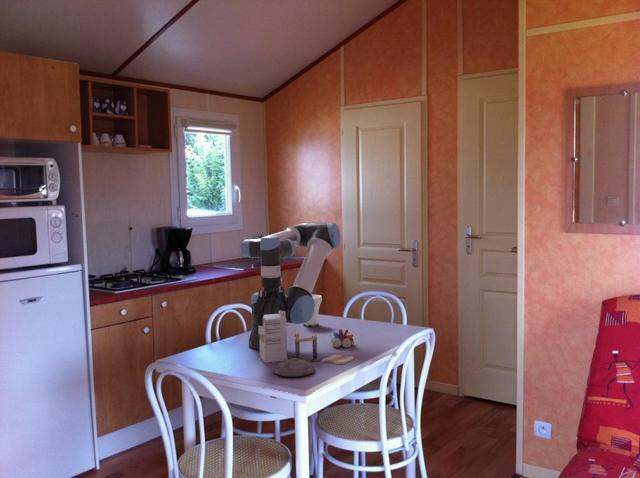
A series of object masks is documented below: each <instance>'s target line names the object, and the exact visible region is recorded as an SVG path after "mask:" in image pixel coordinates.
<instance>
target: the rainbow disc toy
mask: <svg viewBox="0 0 640 478" xmlns="http://www.w3.org/2000/svg"><path fill="white" fill-rule="evenodd" d="M348 333H349V329H345V331H344V333H343V330H342V329H341V328H340V329H338V332H336V331H334V332H333V333H332V334H333V336H334V337H332V338H331V341H330V342H331V345H332V346H333V347H334V348H340V347H343V348H345V349H348V348H350V347H351V346H352V345H354V344H355V341H354V338H353V337H354V334H353V333H352V334H351V333H350V334H349V335H348Z"/></svg>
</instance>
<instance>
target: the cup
mask: <svg viewBox="0 0 640 478" xmlns="http://www.w3.org/2000/svg"><path fill="white" fill-rule="evenodd" d="M312 296H313V299H314V303H315V307H314V313H313V316H312V318H311V319H310V320H309V321H308V322H307V323H304V324H303V326H304V327H307V328H308V327H310V326H311V327H313V328H314V327H316V326H319V323H320V319H319V309H320V306H321V303H322V301H323V298H322V295H320V294H312Z"/></svg>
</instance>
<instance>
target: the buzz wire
mask: <svg viewBox="0 0 640 478" xmlns="http://www.w3.org/2000/svg"><path fill="white" fill-rule="evenodd" d="M317 340H318V336H317V335H316V334H314V335H312V336H311V337H307V338H306V337H305V338H300V333H298V332H295V333H294V343H295V345H294V348H295V350H294V351H295V355H293V356H292V358H298V359H303V356H302V355H300V354H301V353H300V351H301V350H300V349H301V347H300V343H304V342H305V343H306V342H312V357H311V358H310V361H311V363H314V362H320V360H321V359H320V358H319V357H318V342H317ZM310 361H309V362H310Z"/></svg>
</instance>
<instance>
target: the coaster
mask: <svg viewBox="0 0 640 478" xmlns="http://www.w3.org/2000/svg"><path fill="white" fill-rule="evenodd" d="M353 360H355V356H350V355H344V354H343V355H342V354H335V353H333V354H331V355H329V356H327V357H325V358H322V360H321V362H322V363H328V364H336V365H341V366H343V365H345V364H347V363H349V362H352V361H353Z"/></svg>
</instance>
